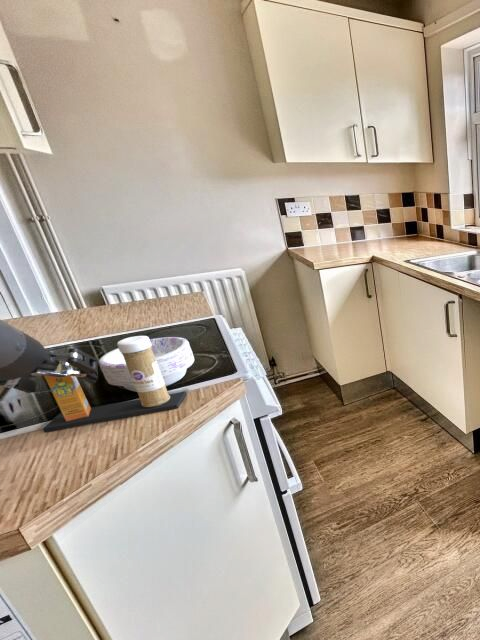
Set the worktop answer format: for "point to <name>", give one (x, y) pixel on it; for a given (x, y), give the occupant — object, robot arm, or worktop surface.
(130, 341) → the sprinkles bottle
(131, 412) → the strip
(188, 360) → the paper bowls
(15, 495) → the worktop surface
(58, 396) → the supplement box
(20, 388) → the robot arm
